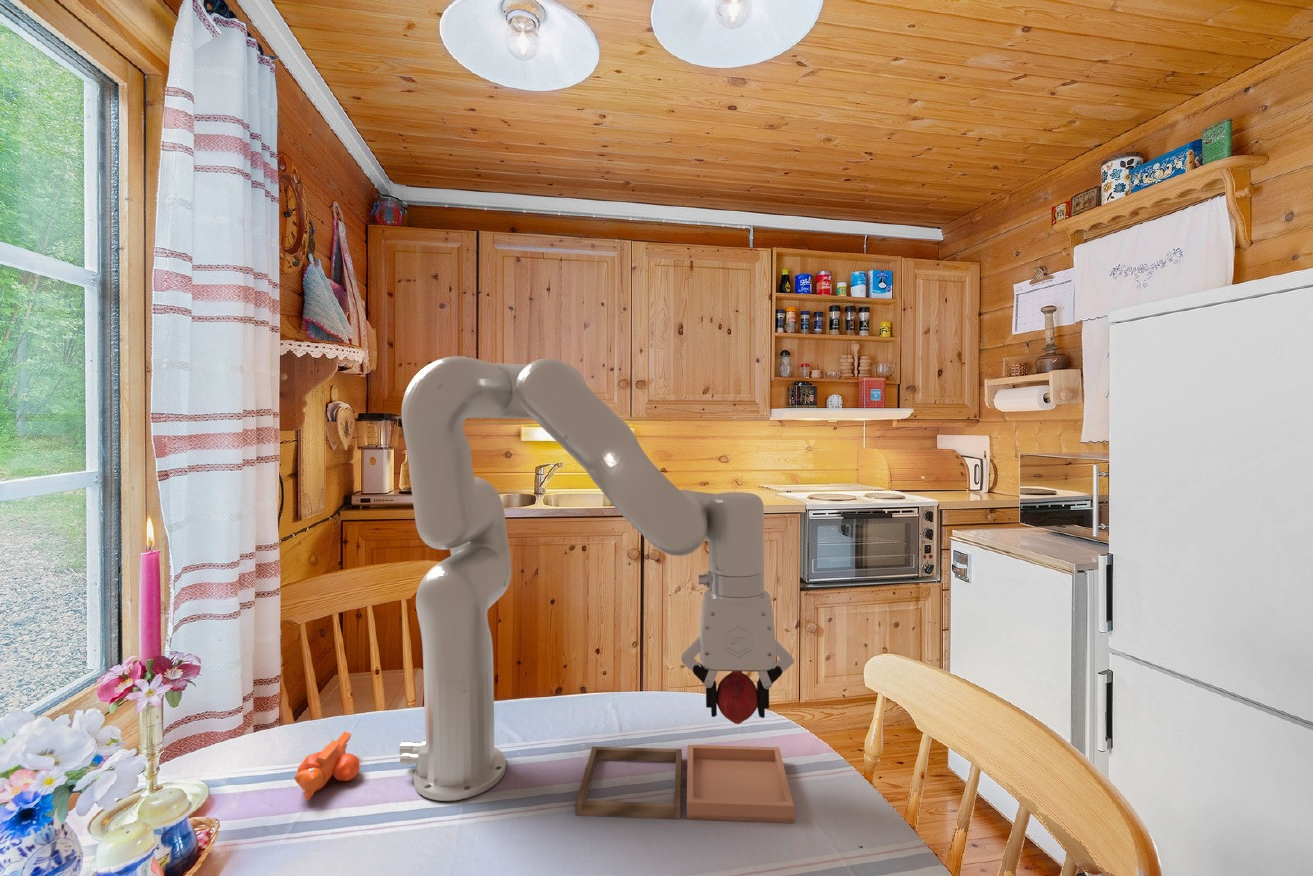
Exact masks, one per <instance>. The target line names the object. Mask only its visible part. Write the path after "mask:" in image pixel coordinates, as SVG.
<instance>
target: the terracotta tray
mask: <svg viewBox="0 0 1313 876" xmlns="http://www.w3.org/2000/svg"><path fill="white" fill-rule="evenodd" d="M686 764H687V766H686V768H687V774H686V820H703V821H704V820H705V821H731V822H755V823H757V822H758V823H759V822H760V823H761V822H762V823H783V824H784V823H786V824H787V823H788V824H794V823H795V804H794V800H793V796H792V793H791V789H790V784H789V781H788V778H787V773H786V769H785V766H784V761H783V757H782V753H781V749H780V747H779V746H750V745H749V746H747V745H746V746H745V745H743V746H742V745H714V744H713V745H712V744H711V745H708V744H688V745H687V763H686Z"/></svg>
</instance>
